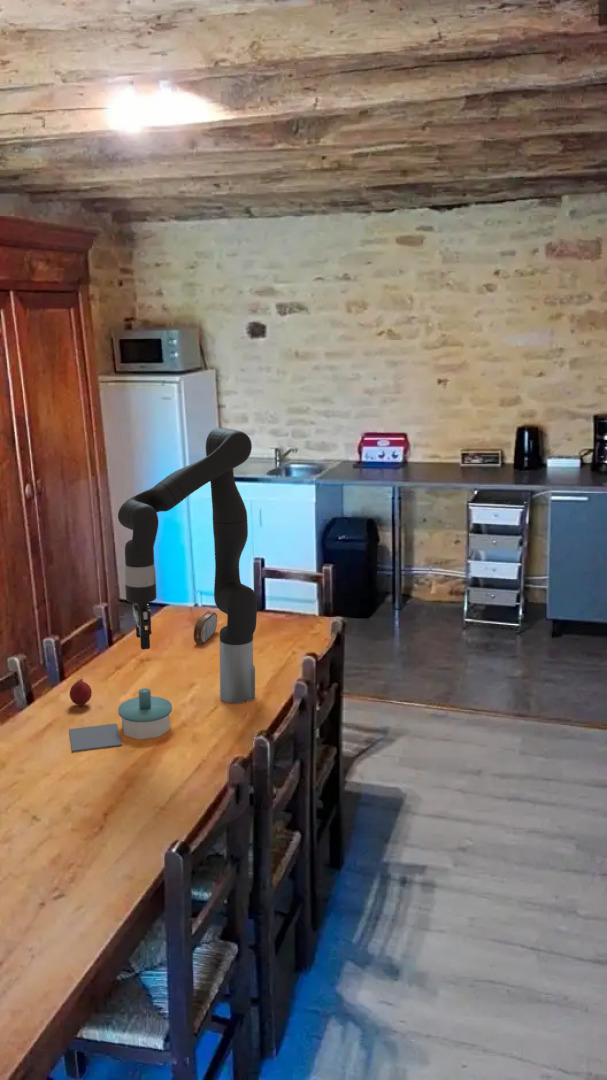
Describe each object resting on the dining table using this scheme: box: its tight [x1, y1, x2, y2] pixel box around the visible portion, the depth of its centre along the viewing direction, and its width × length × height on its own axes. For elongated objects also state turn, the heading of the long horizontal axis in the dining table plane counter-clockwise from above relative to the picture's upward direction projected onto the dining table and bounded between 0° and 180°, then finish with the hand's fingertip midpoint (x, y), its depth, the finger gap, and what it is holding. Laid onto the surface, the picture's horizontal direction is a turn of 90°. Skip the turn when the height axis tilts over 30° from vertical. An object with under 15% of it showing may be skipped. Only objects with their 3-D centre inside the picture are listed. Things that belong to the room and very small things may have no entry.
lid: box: [117, 687, 173, 722], centre depth 227 cm, size 14×14×5 cm
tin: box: [193, 610, 218, 644], centre depth 291 cm, size 15×3×8 cm, turn 164°
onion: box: [69, 677, 92, 707], centre depth 240 cm, size 6×6×8 cm
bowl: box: [121, 714, 171, 740], centre depth 228 cm, size 12×12×5 cm
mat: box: [68, 722, 123, 753], centre depth 223 cm, size 12×12×1 cm
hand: (143, 642), depth 223 cm, fingers open, 8 cm apart
